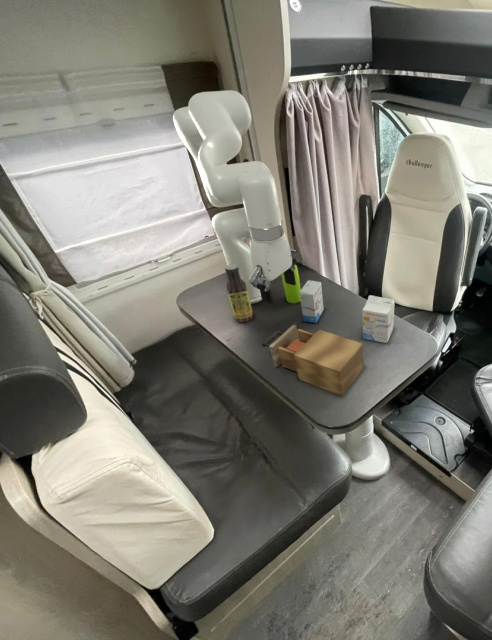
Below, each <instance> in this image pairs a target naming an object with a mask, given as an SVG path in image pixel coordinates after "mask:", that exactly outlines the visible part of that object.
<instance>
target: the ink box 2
mask: <svg viewBox="0 0 492 640" xmlns="http://www.w3.org/2000/svg"><path fill="white" fill-rule="evenodd" d="M395 303H396V301H395V299H392V298H389V297H382V296H381V297H380V296H376V295H371V294H370V295H368V297H367V301H366V302H365V304H364V306H363V308H362V339H363V340H368V341H373V342H379V343H384V344H388V342H389V340H390V337H391V335H392V333H393V330H394V323H395V322H394V321H395Z"/></svg>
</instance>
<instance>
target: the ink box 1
mask: <svg viewBox="0 0 492 640" xmlns="http://www.w3.org/2000/svg"><path fill="white" fill-rule="evenodd" d="M323 298H324V297H323V288H322V282H321V281H315V280H307V281H306V282H305V284H304V285H303V286H302V288H301V290H300V300H301V301H300V307H301V313H302V319H303V322H306V323H315V324H316V323H318V322H319V321H318V320H319V319H320V317H321V316H322V314H323V311H325V310H324V309H325V308H324V299H323Z"/></svg>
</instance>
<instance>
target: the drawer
mask: <svg viewBox="0 0 492 640" xmlns="http://www.w3.org/2000/svg"><path fill="white" fill-rule="evenodd" d="M314 334H315V333H313V332H310V331H307V330H304V329H300V328H298V327H297V325H295V324H292V325H291V326H290V327H289V328H288V329H286V330H285V332H281V331H280V330H279V329H277V330H275V331H274V332H273V333H272V334H271V335H270V336H269V337H268V338H266V339H265V340H264V341H263V342H261V345H262V347H264V348H266V347H267V348H269V351H270V355H271V359H272V363H273V365H274V367H275V368H278V367H280V365H281V366H282V367H283V368H285V369H288V370H291V371H292V372H296V373H298V372H297V367H296V363H295V358H294V354H295V353H296V352H293V351H291V350H288V349H286V348H287V347H288V346H289V345H290V344H291V343H292V342H293V341H294V340H298V341H301V342H304V343H306V342H307V341H308V340H309V339H310V338H311V337H312V336H313V335H314ZM277 337H278V338H277ZM276 338H277V339H276ZM275 339H276V340H275ZM271 342H272V343H271ZM270 343H271V344H270Z"/></svg>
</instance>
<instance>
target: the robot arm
mask: <svg viewBox="0 0 492 640" xmlns="http://www.w3.org/2000/svg"><path fill="white" fill-rule="evenodd" d="M172 120H173V124H174V127H175V130H176V132H177V135H178V136H179V138H180V140H181V141H182V143H183V145H184V146H185V147H186V149H187V150H188V152H189V153H190V155H191V156H192V158H193V160H194V162H195V165H196V168H197V170H198V173H199V176H200V179H201V182H202V185H203V188H204V191H205V193H206V197H207V199H208V202H209V203H210V204H211V205H212V206H213V207H215V208H226V207H232V206H237V205H242V204H243V207H240V208H235V209H229V210H225V211H224V210H223V211H221V212H218V213H216V214H215V215H214V216H213V217H212V218H211V226H212V229H213V233H214V234H215V237H216V238H217V240H218V242H219V244H220V247H221V250H222V253H223V256H224V259H225V262H226V265H228V264H236V265H238V268H239V275H240V278H241V279H242V280H243V281H244V282H245V283H246V288H247V291H248V295H249V299H250V304H251V305H254V304H257V303H260V302H261V301H262V302H264V303H268V304H271V305H272V304H274V297H273V294H272V290H271V288H270V286H271V282H272V281H274V280H275V279H277V278H278V277H280V276H282V275H281V274H282V273H283V272H284V278H285V282H286V283H288V284H291V285H296V280H295V274H294V272H293V271H295V267H294V266H295V265H296V264H297V263H296V262H297V259H296V258H297V253H298V252H297V250H296V249H292V248H291V247H290V244H289V240H288V238H287V234H286V232H285V230H284V224H283V218H282V214H281V209H280V203H279V196H278V191H277V190H278V189H277V185H276V181H275V180H276V179H275V178H274V176H273V174H272V172H271V169H270V168H269V167H267V165H266V164H265V163H264V162H262V161H259V160H251V161H244V162H236V163H231V164H230V163H229V161H230V160H232V159H234V158H235V157H236V156H237V155H238V154H239V153H240V151H241V149H242V146H243V139H242V137H243V135H245V134H246V132H247V131H249V129H250V128H251V125H252V112H251V109H250V107H249V103H248V102H247V100H246V98H245V97H244V96H243V94H241V92H239V91H237V90H231V89H229V90H215V91H201V92H198V93H195V94H193V95H192V96H191V97H190V99H189V101H188V104H187V106H183V107H180V108H177V109H176V110H175V111H174V112H173V114H172ZM227 163H229V164H227ZM250 238H251V239H250ZM247 239H249V244H247V243H246V242H245V241H244V240H247Z"/></svg>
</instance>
